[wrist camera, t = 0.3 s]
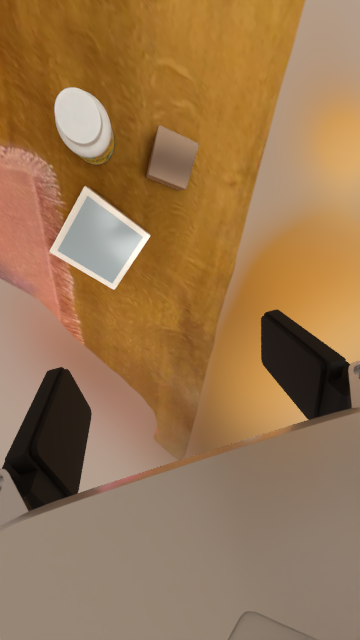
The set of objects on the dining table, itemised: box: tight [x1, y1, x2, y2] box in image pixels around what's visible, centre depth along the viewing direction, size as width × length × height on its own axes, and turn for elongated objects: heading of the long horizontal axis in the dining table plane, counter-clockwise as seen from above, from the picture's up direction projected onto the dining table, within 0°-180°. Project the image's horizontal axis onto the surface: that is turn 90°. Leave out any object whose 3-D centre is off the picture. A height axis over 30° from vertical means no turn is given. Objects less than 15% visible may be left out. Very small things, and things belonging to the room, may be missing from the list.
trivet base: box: [49, 186, 150, 290], centre depth 33 cm, size 10×10×3 cm
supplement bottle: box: [54, 87, 115, 165], centre depth 25 cm, size 5×5×10 cm
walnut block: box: [146, 125, 199, 190], centre depth 30 cm, size 5×5×5 cm
